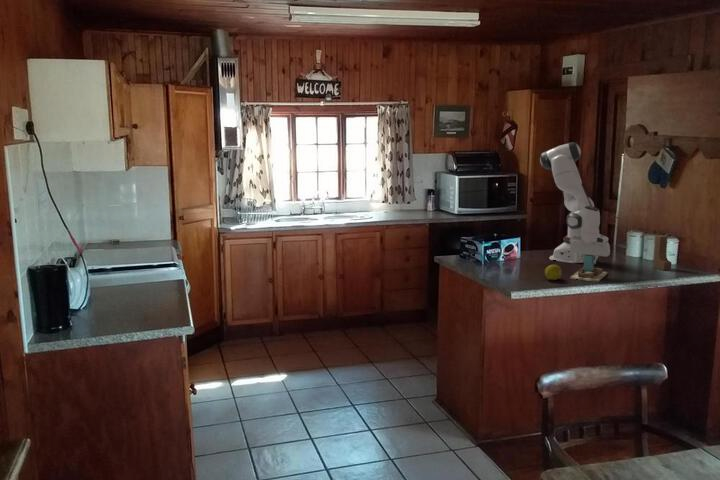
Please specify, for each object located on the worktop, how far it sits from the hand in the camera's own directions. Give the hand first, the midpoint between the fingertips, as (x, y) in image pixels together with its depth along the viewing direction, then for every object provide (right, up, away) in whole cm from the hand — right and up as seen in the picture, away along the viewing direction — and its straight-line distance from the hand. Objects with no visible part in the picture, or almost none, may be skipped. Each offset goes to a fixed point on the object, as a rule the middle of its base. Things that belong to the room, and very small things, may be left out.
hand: (588, 263), depth 333 cm
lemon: (-21, -9, -7) cm, 24 cm away
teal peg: (0, -4, +1) cm, 4 cm away
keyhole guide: (0, -7, -1) cm, 7 cm away
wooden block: (+44, -4, +12) cm, 46 cm away
